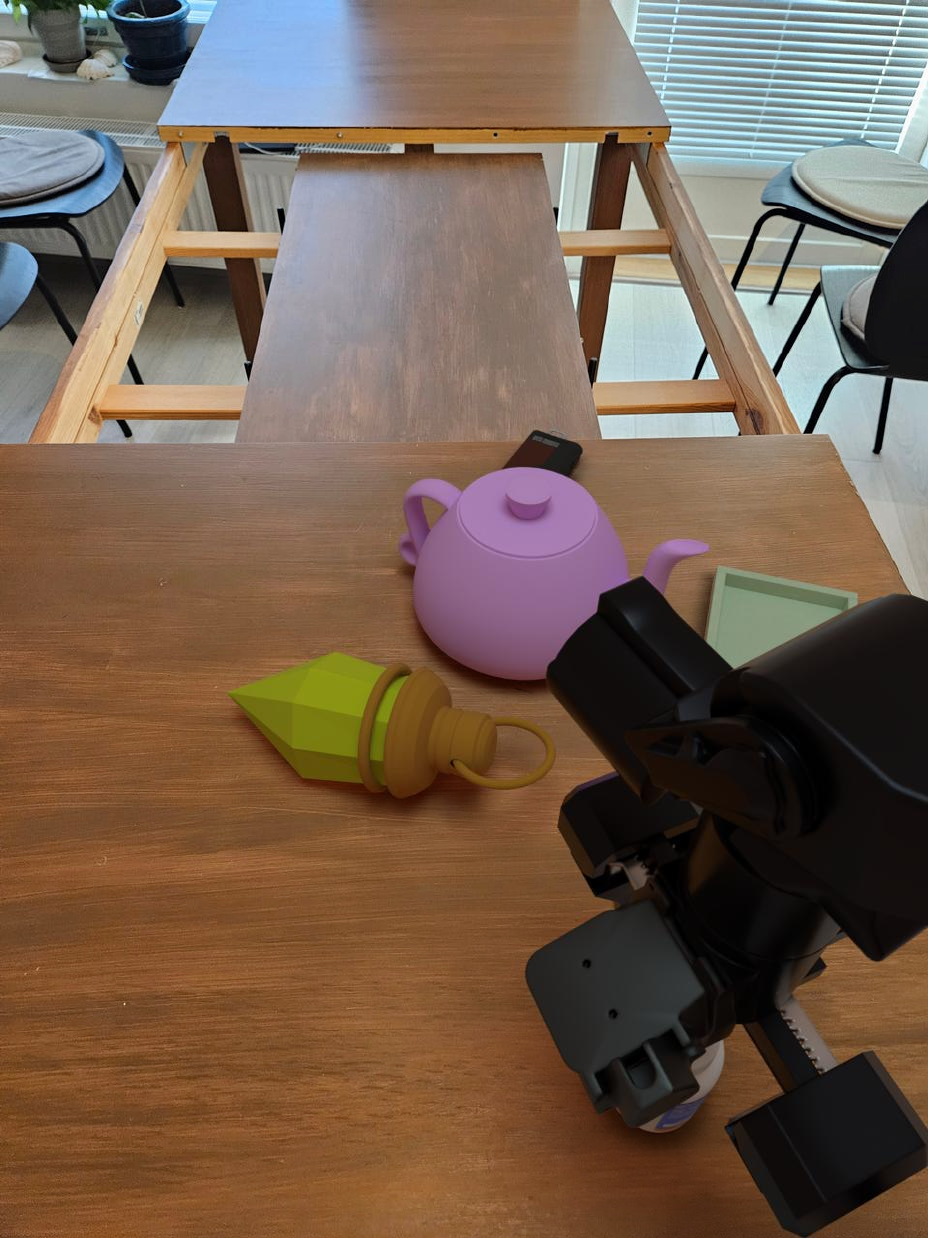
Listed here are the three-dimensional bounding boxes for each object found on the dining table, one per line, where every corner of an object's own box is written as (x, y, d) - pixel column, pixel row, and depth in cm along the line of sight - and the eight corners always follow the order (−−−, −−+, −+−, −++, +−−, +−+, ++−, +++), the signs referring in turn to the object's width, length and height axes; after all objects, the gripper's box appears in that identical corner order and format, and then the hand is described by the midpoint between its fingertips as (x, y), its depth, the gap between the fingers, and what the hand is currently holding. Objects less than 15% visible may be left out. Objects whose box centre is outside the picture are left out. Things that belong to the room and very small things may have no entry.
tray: (848, 906, 58) (858, 892, 57) (670, 858, 60) (675, 844, 59) (850, 609, 76) (858, 593, 74) (712, 580, 78) (717, 564, 76)
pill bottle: (703, 1047, 52) (742, 986, 45) (693, 1148, 49) (734, 1100, 41) (610, 1020, 53) (634, 957, 46) (595, 1118, 50) (618, 1066, 42)
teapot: (349, 639, 73) (332, 512, 63) (445, 511, 84) (444, 385, 74) (640, 751, 66) (674, 628, 56) (705, 595, 77) (743, 469, 67)
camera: (591, 443, 87) (542, 509, 81) (586, 465, 89) (538, 531, 83) (533, 420, 89) (481, 483, 82) (530, 441, 91) (478, 505, 85)
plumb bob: (203, 779, 65) (534, 860, 57) (176, 678, 60) (536, 753, 52) (266, 704, 72) (569, 768, 64) (248, 609, 67) (573, 666, 59)
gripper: (457, 756, 36) (457, 921, 47) (726, 1286, 24) (640, 1334, 36) (692, 671, 39) (639, 846, 50) (1031, 1107, 27) (861, 1204, 39)
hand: (683, 1027), depth 44 cm, fingers open, 9 cm apart
